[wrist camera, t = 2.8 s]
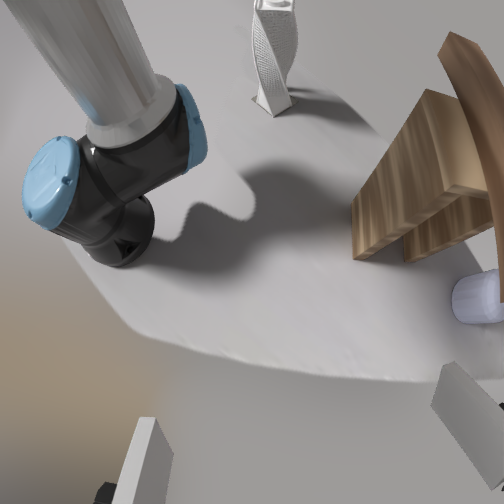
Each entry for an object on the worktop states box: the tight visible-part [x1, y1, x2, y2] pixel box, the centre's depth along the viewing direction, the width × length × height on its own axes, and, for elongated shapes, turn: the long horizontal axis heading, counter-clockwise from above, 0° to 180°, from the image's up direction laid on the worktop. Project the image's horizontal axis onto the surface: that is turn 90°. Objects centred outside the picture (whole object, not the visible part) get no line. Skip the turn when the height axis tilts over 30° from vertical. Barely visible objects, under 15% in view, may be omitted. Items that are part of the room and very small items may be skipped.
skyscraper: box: [252, 0, 298, 118], centre depth 41 cm, size 8×8×28 cm
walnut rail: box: [438, 32, 504, 303], centre depth 16 cm, size 4×26×4 cm, turn 177°
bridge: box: [351, 89, 494, 262], centre depth 33 cm, size 12×10×30 cm
